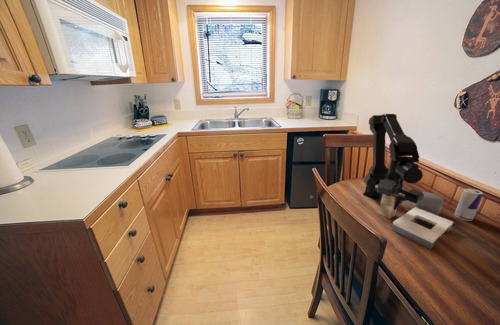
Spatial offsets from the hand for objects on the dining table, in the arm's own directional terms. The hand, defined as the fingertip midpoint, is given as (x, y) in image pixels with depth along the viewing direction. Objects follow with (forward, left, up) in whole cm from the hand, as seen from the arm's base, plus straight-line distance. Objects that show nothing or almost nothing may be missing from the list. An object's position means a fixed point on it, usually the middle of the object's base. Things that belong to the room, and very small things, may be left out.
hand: (388, 207), depth 86 cm
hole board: (+12, 0, -4) cm, 12 cm away
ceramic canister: (+8, +16, -4) cm, 18 cm away
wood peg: (0, 0, -4) cm, 4 cm away
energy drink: (+18, +23, -4) cm, 29 cm away
